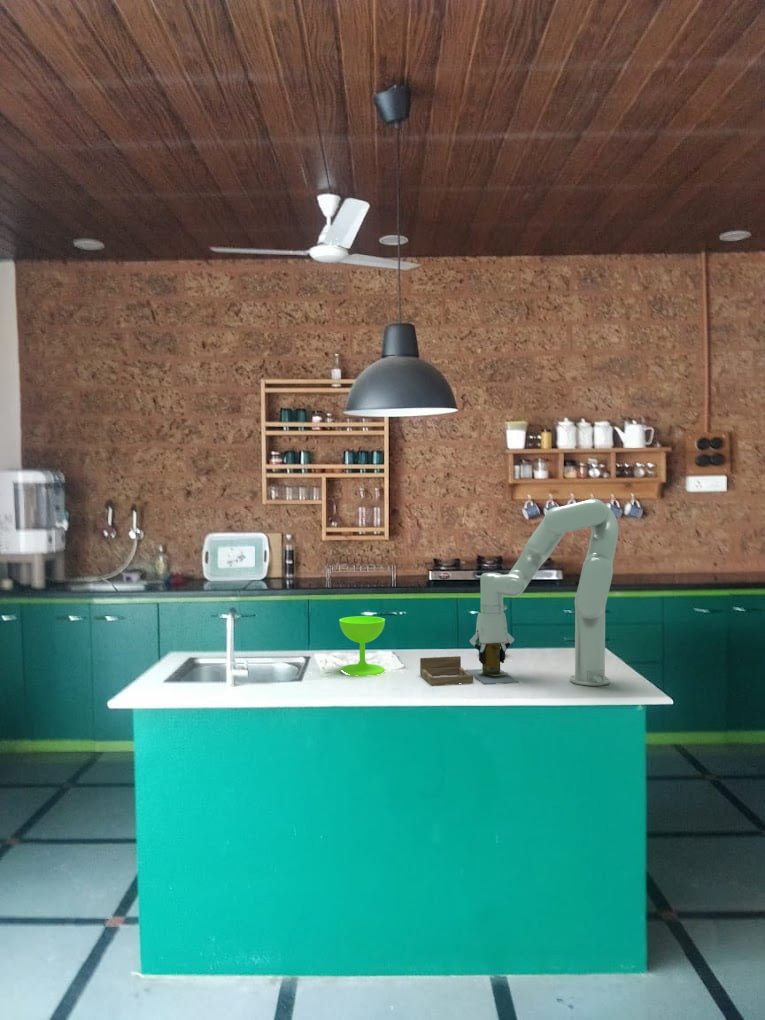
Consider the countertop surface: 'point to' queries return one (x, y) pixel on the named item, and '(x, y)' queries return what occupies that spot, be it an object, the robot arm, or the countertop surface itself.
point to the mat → (491, 677)
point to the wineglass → (362, 641)
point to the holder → (444, 670)
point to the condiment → (492, 660)
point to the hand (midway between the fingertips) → (492, 662)
